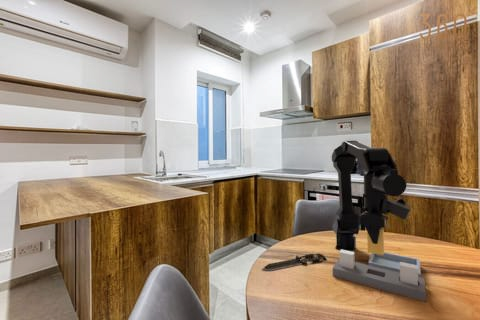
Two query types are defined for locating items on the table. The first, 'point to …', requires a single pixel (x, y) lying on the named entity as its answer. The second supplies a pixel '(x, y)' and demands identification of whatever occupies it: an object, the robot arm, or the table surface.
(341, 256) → the fuse left
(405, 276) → the block
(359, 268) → the fuse holder
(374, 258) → the tray
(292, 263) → the black knife
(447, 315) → the table surface
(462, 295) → the table surface
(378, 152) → the robot arm
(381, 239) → the block
